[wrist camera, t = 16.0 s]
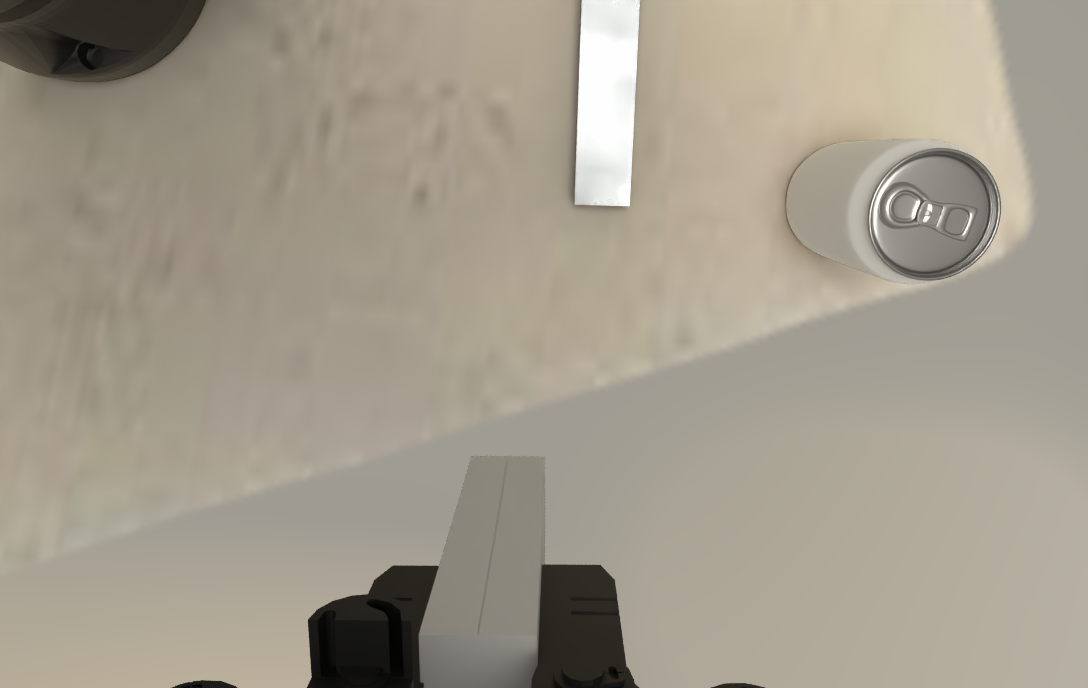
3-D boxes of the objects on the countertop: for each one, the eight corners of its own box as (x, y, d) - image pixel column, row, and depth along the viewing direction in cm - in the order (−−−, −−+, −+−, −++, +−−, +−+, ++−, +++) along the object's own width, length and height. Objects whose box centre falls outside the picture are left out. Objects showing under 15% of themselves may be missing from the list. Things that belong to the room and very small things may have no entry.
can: (804, 128, 46) (889, 119, 35) (914, 159, 47) (1035, 160, 35) (767, 241, 48) (837, 269, 36) (874, 270, 48) (978, 307, 36)
